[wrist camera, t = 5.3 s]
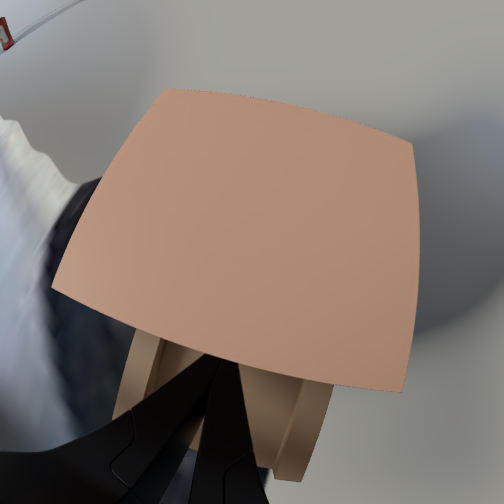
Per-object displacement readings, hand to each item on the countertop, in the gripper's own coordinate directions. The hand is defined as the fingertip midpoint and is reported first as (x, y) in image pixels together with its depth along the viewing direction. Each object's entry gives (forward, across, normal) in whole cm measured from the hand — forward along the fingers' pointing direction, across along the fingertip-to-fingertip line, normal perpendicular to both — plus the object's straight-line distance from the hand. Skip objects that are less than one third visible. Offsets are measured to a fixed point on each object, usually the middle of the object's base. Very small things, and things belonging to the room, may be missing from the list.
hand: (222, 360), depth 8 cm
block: (+8, 0, +3) cm, 8 cm away
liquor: (+58, +136, -47) cm, 155 cm away
